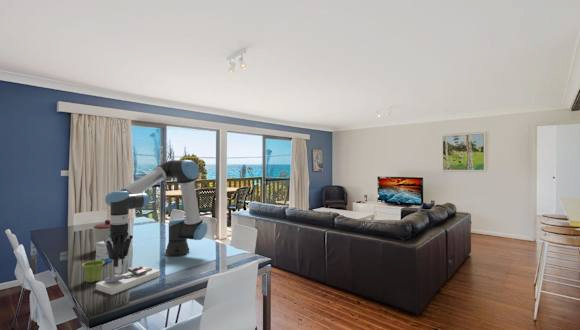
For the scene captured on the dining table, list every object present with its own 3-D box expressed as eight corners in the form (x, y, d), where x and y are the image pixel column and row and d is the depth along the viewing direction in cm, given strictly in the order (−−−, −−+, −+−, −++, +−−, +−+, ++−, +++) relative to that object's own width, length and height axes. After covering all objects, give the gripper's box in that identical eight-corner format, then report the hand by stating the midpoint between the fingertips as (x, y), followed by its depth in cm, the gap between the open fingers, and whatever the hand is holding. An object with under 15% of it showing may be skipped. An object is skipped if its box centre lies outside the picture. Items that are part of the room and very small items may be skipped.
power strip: (96, 289, 135) (96, 282, 135) (144, 272, 159) (145, 266, 159) (111, 294, 130) (112, 287, 130) (160, 275, 153) (160, 269, 153)
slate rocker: (104, 283, 136) (104, 277, 137) (114, 279, 141) (114, 273, 141) (115, 283, 133) (114, 277, 133) (125, 279, 137) (124, 273, 138)
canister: (85, 251, 194) (85, 220, 194) (110, 245, 211) (111, 216, 211) (103, 255, 187) (103, 223, 187) (128, 248, 204) (128, 218, 204)
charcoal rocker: (127, 272, 147) (128, 266, 147) (136, 269, 152) (137, 263, 152) (137, 277, 144) (138, 271, 144) (146, 274, 148) (147, 268, 148)
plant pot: (89, 276, 150) (89, 260, 151) (107, 276, 151) (108, 260, 151) (77, 284, 141) (77, 266, 141) (97, 283, 142) (97, 266, 142)
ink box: (112, 261, 176) (113, 242, 176) (105, 263, 171) (105, 244, 171) (102, 259, 178) (103, 240, 178) (95, 262, 174) (95, 242, 174)
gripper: (110, 226, 129) (109, 278, 128) (137, 221, 140) (135, 269, 140) (100, 224, 132) (99, 275, 132) (127, 220, 144) (126, 267, 143)
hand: (118, 272), depth 136 cm, fingers closed
